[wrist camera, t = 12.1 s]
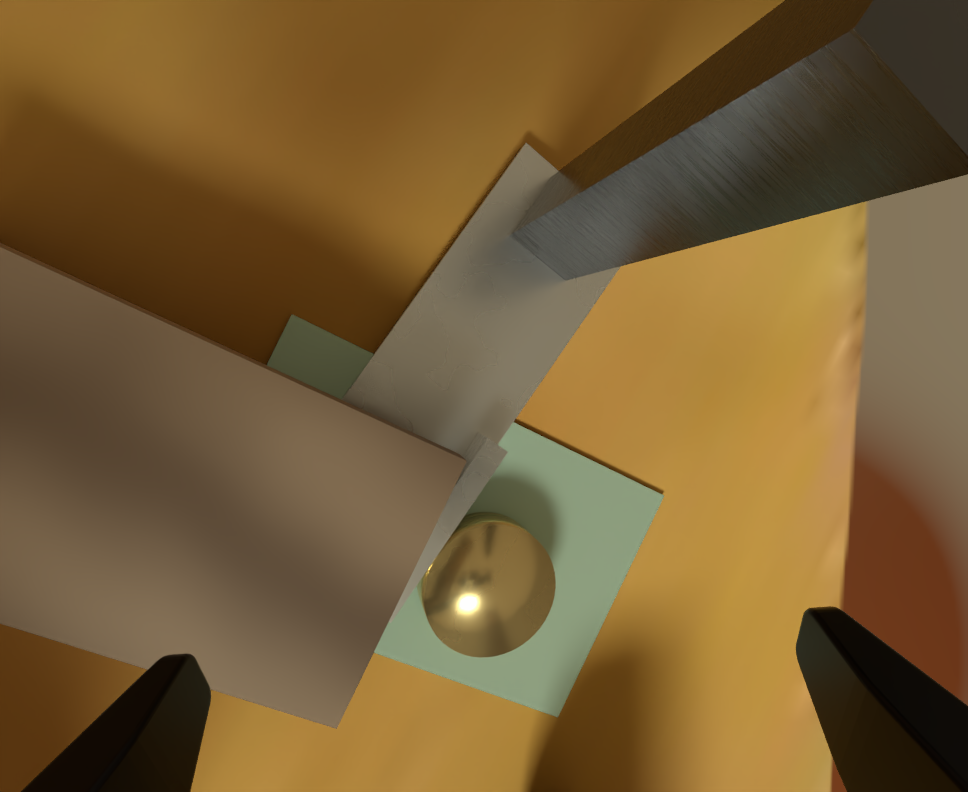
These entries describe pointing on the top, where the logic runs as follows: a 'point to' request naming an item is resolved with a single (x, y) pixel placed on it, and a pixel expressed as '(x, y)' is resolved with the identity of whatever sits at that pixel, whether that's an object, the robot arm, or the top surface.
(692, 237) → the grey l-shaped block
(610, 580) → the mat
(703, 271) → the top surface
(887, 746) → the robot arm
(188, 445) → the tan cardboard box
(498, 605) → the token
